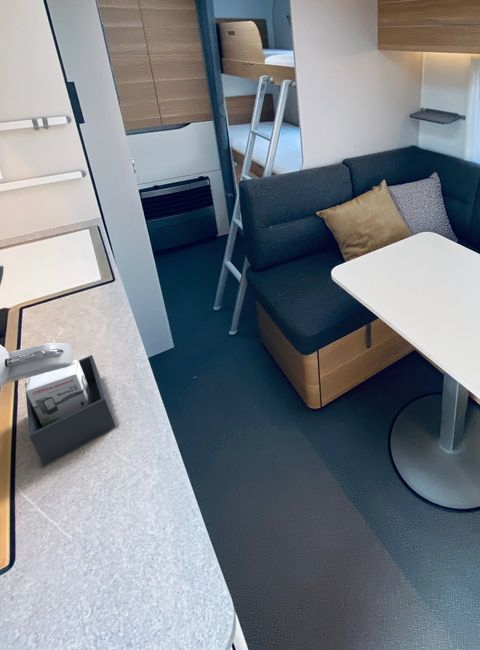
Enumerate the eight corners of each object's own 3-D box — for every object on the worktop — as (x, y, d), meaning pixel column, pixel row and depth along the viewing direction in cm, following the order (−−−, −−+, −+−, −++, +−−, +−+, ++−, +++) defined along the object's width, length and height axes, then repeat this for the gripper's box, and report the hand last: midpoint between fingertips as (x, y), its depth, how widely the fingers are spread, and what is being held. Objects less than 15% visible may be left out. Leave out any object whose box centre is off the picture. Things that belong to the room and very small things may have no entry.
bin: (38, 410, 90) (24, 383, 87) (101, 380, 97) (91, 354, 94) (44, 465, 79) (29, 436, 76) (115, 426, 86) (105, 399, 83)
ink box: (44, 433, 84) (23, 391, 79) (47, 415, 88) (27, 374, 83) (93, 414, 88) (76, 373, 83) (94, 397, 92) (78, 357, 87)
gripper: (53, 328, 63) (85, 337, 75) (-128, 372, 55) (-61, 374, 67) (55, 371, 61) (87, 373, 73) (-133, 423, 53) (-63, 415, 65)
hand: (15, 374), depth 70 cm, fingers open, 8 cm apart
